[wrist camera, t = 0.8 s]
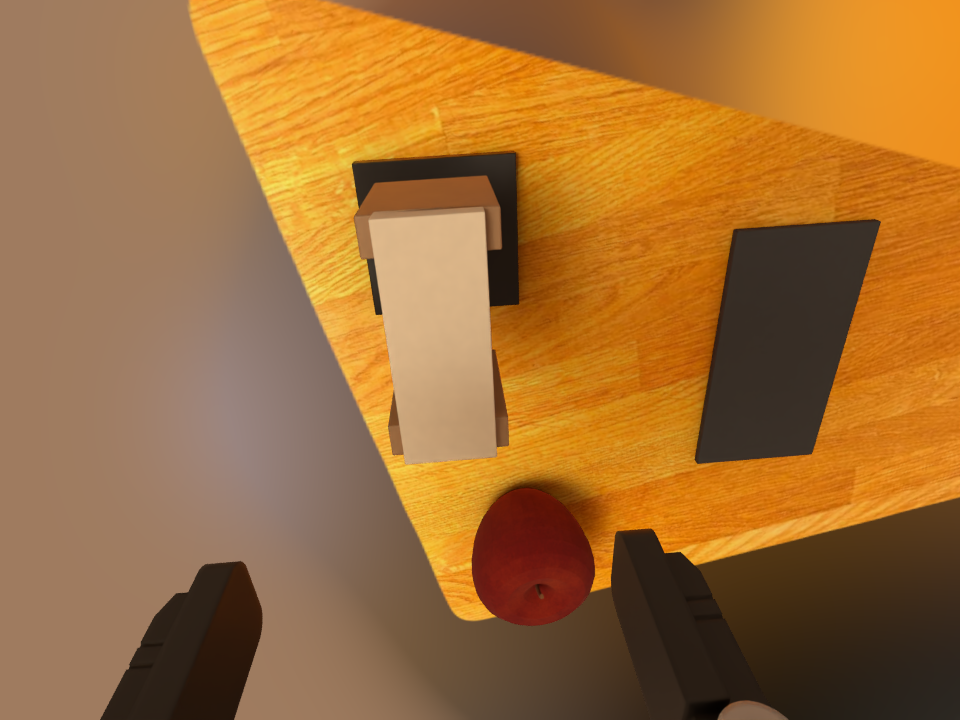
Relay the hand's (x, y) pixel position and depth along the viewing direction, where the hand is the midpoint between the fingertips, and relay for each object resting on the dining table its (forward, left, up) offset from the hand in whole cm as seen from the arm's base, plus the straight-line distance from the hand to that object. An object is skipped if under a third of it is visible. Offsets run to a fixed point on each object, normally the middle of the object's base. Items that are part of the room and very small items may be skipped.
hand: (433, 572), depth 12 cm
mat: (+11, +25, -28) cm, 39 cm away
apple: (+25, +5, -28) cm, 38 cm away
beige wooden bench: (0, 0, -18) cm, 18 cm away
